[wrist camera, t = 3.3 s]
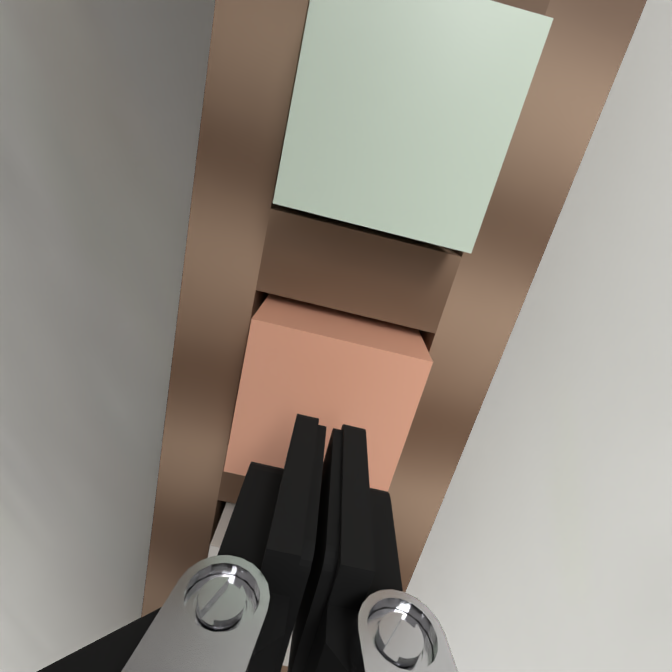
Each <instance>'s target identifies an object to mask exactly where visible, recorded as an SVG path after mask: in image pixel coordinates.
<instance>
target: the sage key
mask: <svg viewBox="0 0 672 672" xmlns="http://www.w3.org/2000/svg"><path fill="white" fill-rule="evenodd" d="M553 19H554V18H551V17H547V16H544V15H540V14H537V13H533V12H530V11H526V10H523V9H519V8H516V7H513V6H509V5H506V4H502V3H499V2H495V1H492V0H310V3H309V8H308V14H307V19H306V24H305V30H304V35H303V41H302V46H301V52H300V57H299V63H298V68H297V73H296V79H295V84H294V90H293V95H292V101H291V106H290V112H289V117H288V123H287V128H286V133H285V139H284V144H283V150H282V155H281V161H280V166H279V172H278V177H277V183H276V188H275V193H274V199H273V204H277V205H281V206H285V207H289V208H293V209H297V210H301V211H305V212H309V213H313V214H317V215H321V216H325V217H329V218H333V219H336V220H340V221H344V222H348V223H352V224H356V225H360V226H364V227H368V228H372V229H376V230H380V231H384V232H388V233H392V234H396V235H400V236H404V237H407V238H411V239H415V240H419V241H423V242H427V243H431V244H435V245H439V246H443V247H447V248H451V249H455V250H459V251H463V252H467V253H472V250H473V247H474V244H475V241H476V238H477V236H478V233H479V230H480V227H481V224H482V221H483V218H484V216H485V213H486V210H487V207H488V204H489V201H490V198H491V196H492V193H493V190H494V187H495V184H496V181H497V178H498V176H499V173H500V170H501V167H502V164H503V161H504V159H505V156H506V153H507V150H508V147H509V144H510V141H511V139H512V136H513V133H514V130H515V127H516V124H517V121H518V119H519V116H520V113H521V110H522V107H523V104H524V101H525V99H526V96H527V93H528V90H529V87H530V84H531V81H532V79H533V76H534V73H535V70H536V67H537V64H538V61H539V59H540V56H541V53H542V50H543V47H544V44H545V41H546V39H547V36H548V33H549V30H550V27H551V24H552V21H553Z"/></svg>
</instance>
